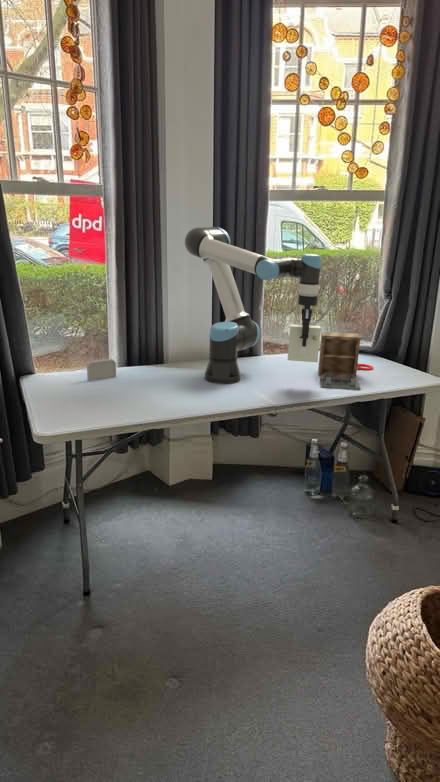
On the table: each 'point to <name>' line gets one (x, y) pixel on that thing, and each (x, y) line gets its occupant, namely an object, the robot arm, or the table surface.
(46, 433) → the table surface
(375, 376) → the table surface
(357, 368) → the tow hook
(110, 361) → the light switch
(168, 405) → the table surface
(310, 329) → the door panel
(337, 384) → the grey pegged base plate
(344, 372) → the cabinet
